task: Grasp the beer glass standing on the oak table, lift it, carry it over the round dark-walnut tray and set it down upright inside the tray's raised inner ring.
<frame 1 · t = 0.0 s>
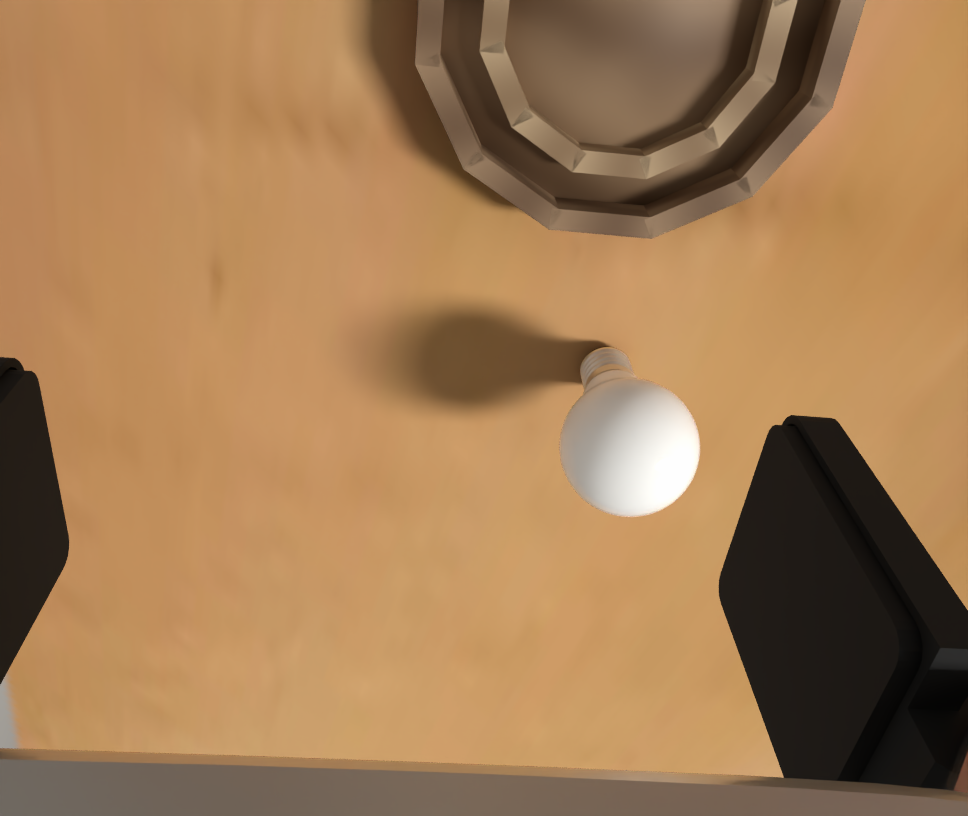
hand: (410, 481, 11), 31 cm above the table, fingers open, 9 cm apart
lightbulb: (602, 361, 47), on the table
tray: (628, 15, 37), on the table
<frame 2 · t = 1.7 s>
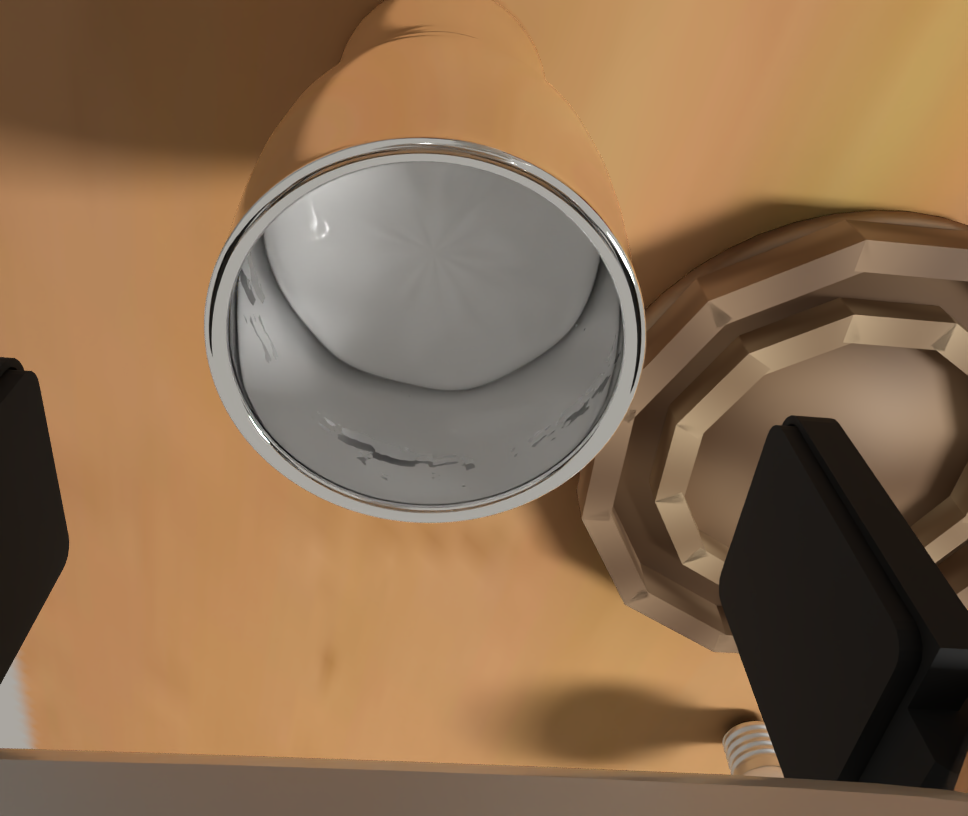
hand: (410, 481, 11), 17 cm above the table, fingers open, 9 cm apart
lightbulb: (745, 723, 42), on the table
beer glass: (442, 96, 26), on the table
tray: (817, 440, 33), on the table
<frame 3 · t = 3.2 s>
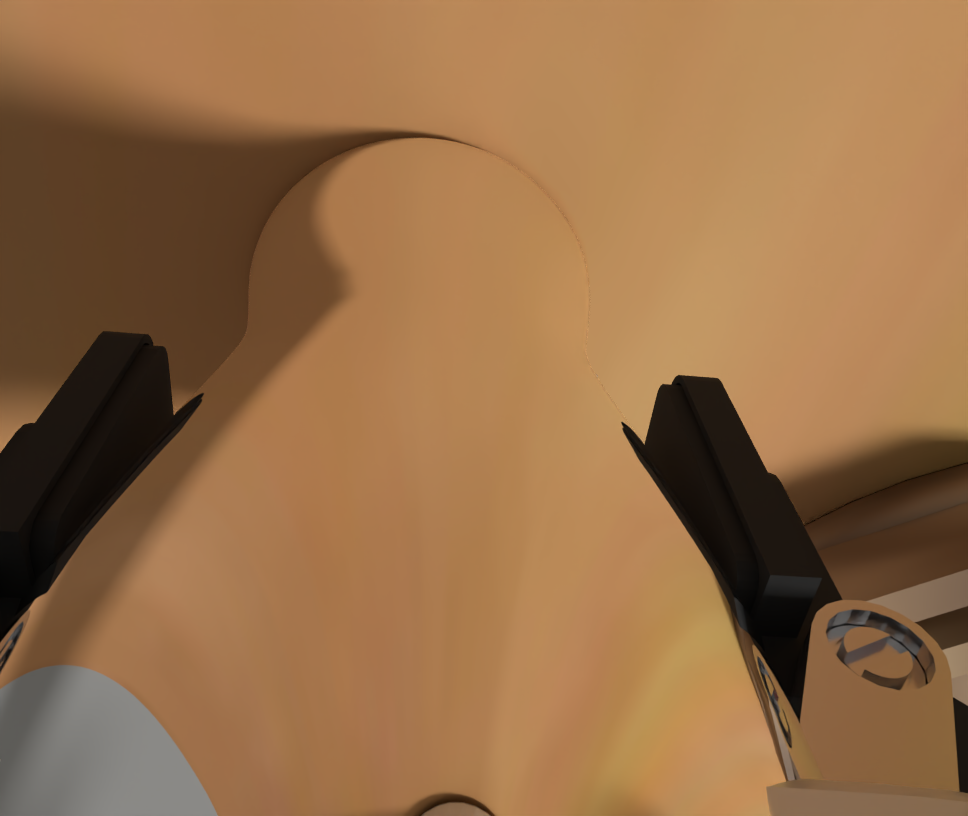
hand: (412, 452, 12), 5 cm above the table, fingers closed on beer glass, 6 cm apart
beer glass: (422, 298, 16), on the table, touching gripper
tray: (962, 727, 23), on the table
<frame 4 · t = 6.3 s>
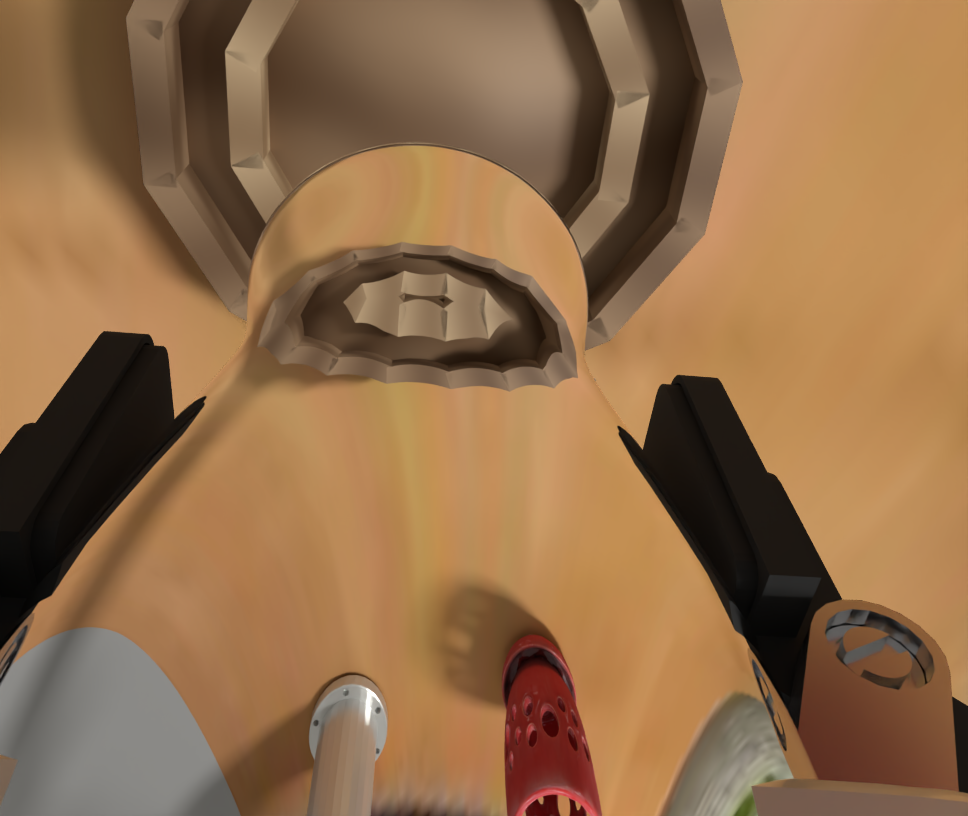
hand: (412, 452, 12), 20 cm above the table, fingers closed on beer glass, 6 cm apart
beer glass: (420, 301, 16), point 15 cm above the table, touching gripper
tray: (438, 112, 29), on the table
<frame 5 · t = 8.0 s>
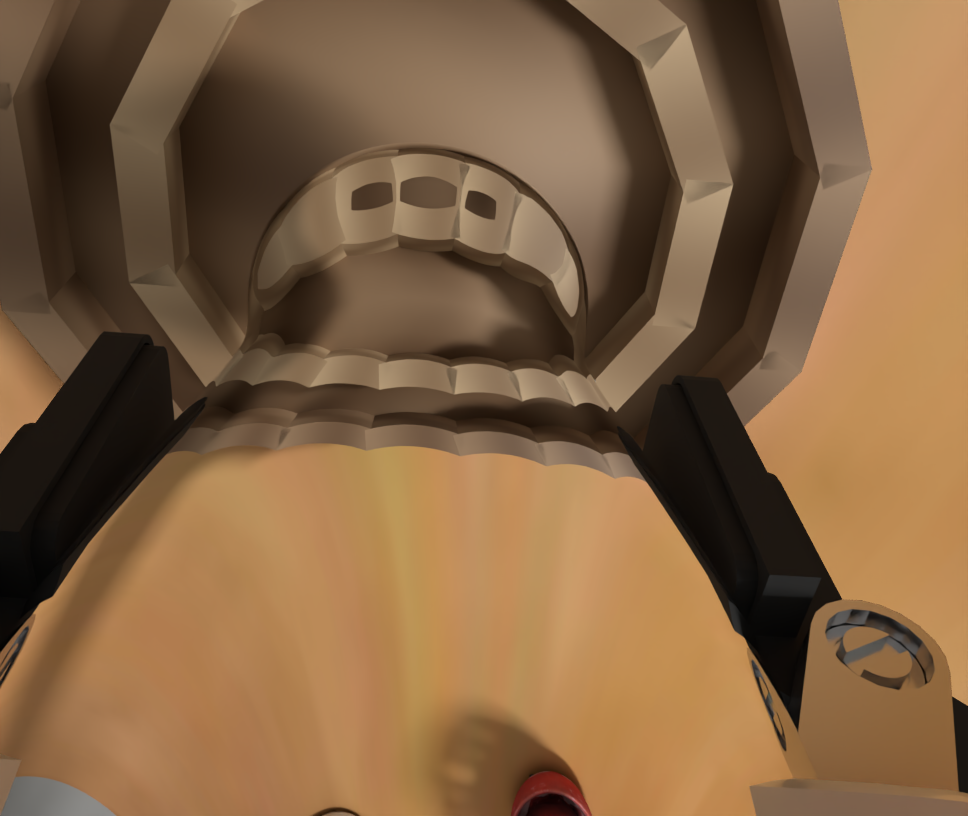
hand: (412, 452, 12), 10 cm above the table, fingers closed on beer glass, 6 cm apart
beer glass: (420, 302, 16), point 5 cm above the table, touching gripper
tray: (427, 199, 20), on the table
when the fingers open (6 cm above the table, at t = 9.3 s): beer glass stays where it is, resting on tray.
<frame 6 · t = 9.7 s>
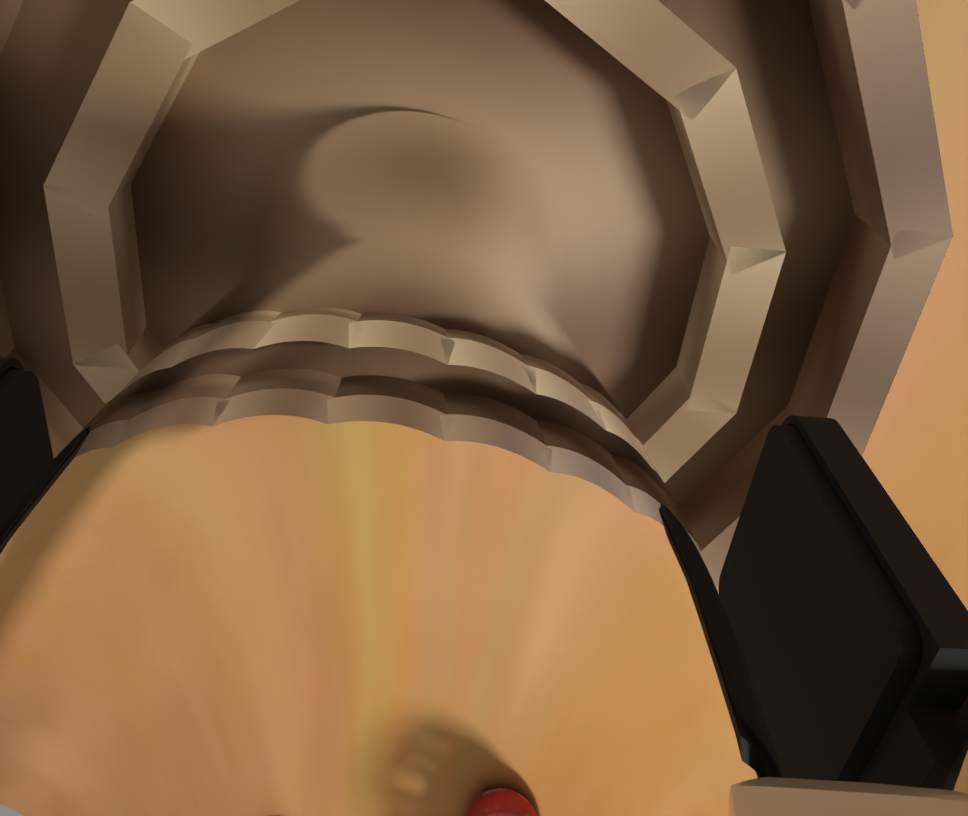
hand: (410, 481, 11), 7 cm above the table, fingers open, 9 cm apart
beer glass: (405, 267, 17), point 1 cm above the table, touching tray
tray: (424, 261, 18), on the table
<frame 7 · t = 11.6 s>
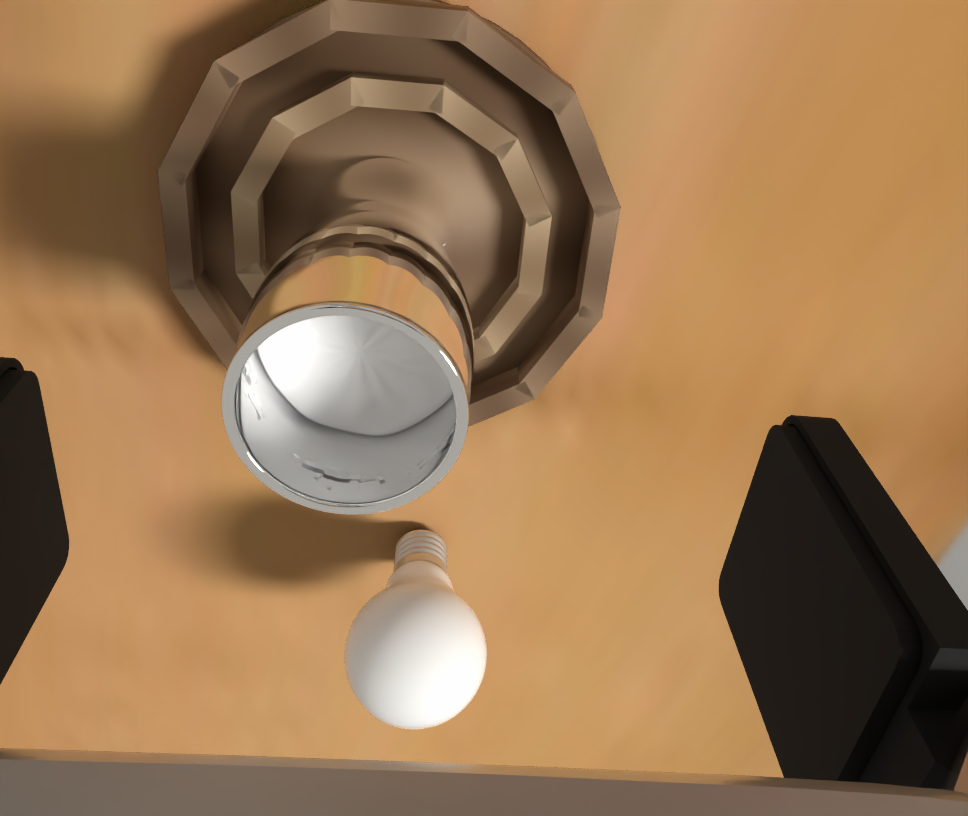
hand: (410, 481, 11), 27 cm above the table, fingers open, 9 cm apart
lightbulb: (422, 539, 46), on the table
beer glass: (385, 228, 36), point 1 cm above the table, touching tray
tray: (395, 227, 37), on the table
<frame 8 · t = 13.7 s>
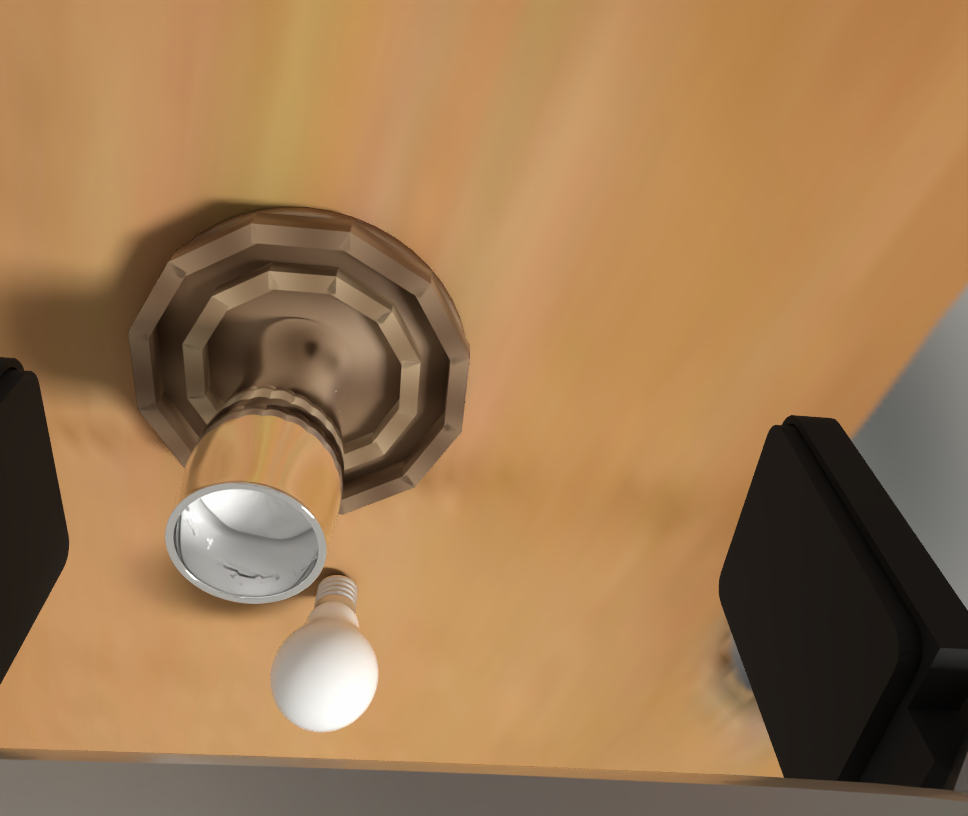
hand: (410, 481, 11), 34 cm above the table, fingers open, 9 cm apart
lightbulb: (339, 580, 59), on the table
beer glass: (300, 364, 49), point 1 cm above the table, touching tray
tray: (308, 360, 49), on the table
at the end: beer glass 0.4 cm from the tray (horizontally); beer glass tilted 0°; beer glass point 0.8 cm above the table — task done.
